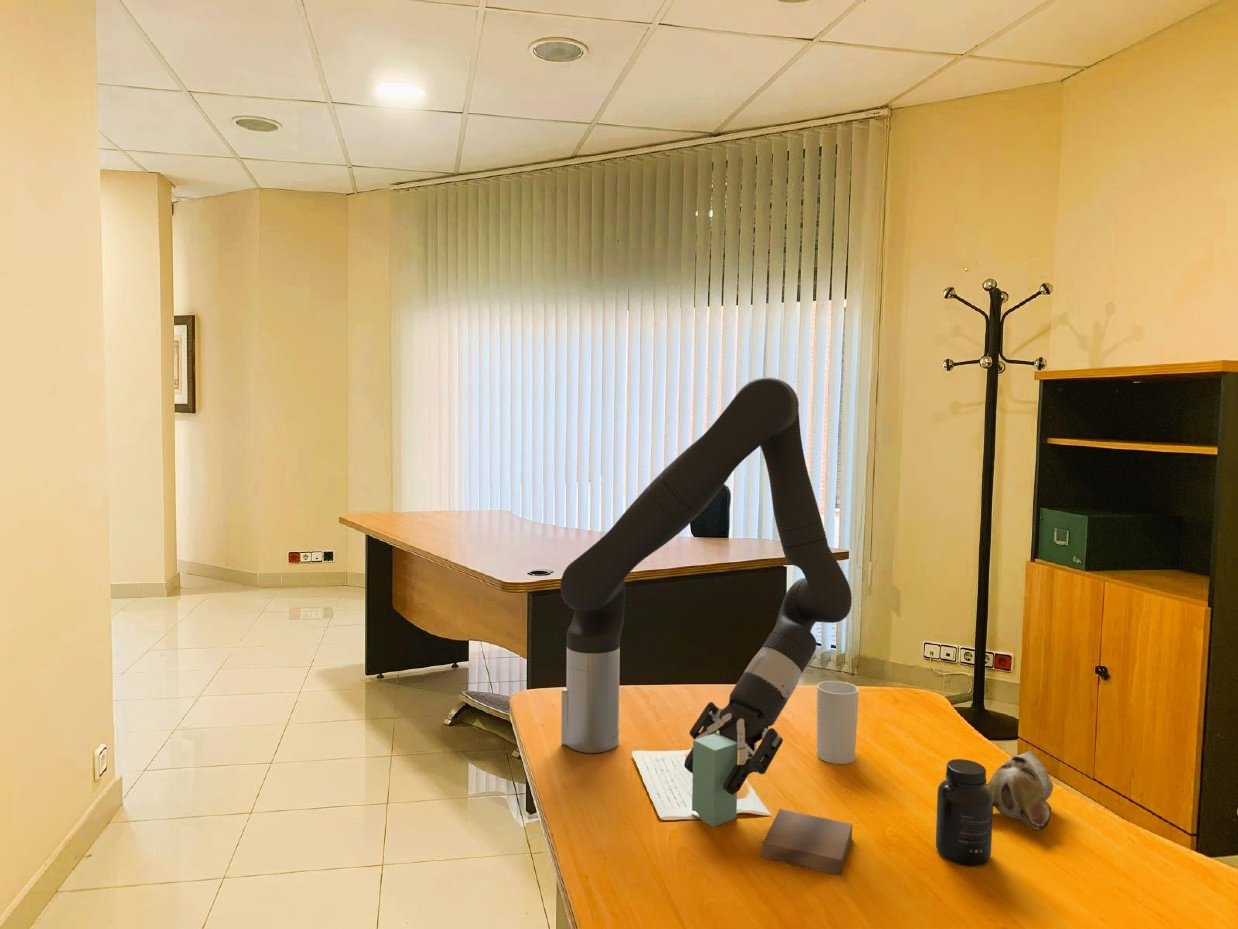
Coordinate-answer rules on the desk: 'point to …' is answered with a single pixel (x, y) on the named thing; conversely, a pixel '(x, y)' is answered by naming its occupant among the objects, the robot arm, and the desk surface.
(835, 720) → the mug
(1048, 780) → the ceramic sculpture
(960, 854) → the supplement bottle
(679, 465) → the robot arm
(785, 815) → the base
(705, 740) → the pillar
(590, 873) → the desk surface
